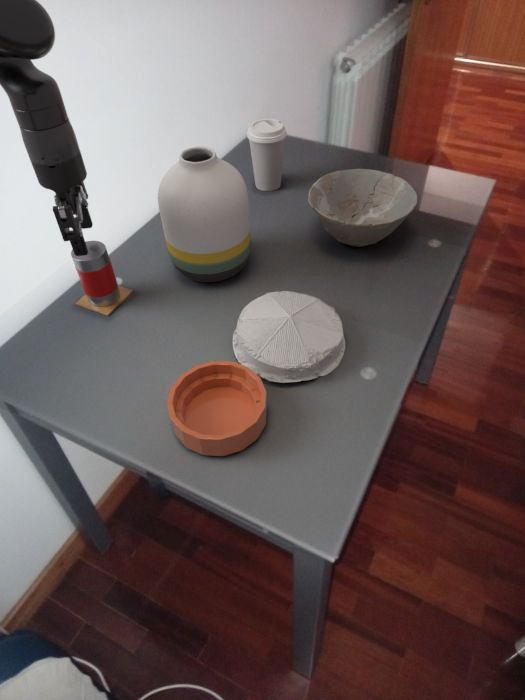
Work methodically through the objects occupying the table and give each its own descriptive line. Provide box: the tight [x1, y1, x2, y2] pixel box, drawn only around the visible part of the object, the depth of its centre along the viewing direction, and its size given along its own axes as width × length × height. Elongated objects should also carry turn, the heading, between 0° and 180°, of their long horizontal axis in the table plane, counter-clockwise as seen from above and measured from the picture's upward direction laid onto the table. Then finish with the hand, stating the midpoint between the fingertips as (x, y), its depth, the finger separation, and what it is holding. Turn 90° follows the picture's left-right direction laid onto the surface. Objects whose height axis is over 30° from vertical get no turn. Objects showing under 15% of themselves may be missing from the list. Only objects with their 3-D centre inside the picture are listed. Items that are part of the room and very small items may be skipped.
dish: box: [166, 360, 268, 457], centre depth 75 cm, size 15×15×5 cm
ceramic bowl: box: [307, 168, 418, 247], centre depth 106 cm, size 22×23×10 cm
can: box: [70, 240, 120, 307], centre depth 93 cm, size 6×6×11 cm
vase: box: [157, 145, 252, 283], centre depth 95 cm, size 17×17×24 cm
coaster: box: [75, 284, 134, 317], centre depth 97 cm, size 8×8×1 cm
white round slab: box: [232, 290, 346, 384], centre depth 85 cm, size 20×20×7 cm
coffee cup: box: [246, 118, 288, 192], centre depth 120 cm, size 10×10×15 cm
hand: (84, 240), depth 87 cm, fingers open, 8 cm apart
